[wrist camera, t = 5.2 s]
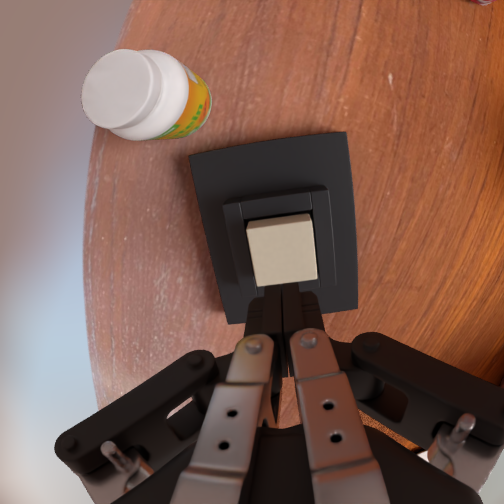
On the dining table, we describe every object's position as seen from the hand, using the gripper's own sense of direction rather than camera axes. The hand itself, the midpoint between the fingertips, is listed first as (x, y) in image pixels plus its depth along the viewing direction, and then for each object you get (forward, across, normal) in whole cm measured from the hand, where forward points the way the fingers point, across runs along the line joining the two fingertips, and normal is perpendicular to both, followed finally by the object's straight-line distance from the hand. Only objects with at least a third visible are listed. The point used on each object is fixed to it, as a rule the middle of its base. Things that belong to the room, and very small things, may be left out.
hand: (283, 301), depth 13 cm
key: (+7, 0, 0) cm, 7 cm away
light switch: (+10, 0, 0) cm, 10 cm away
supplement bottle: (+11, +6, -11) cm, 16 cm away
